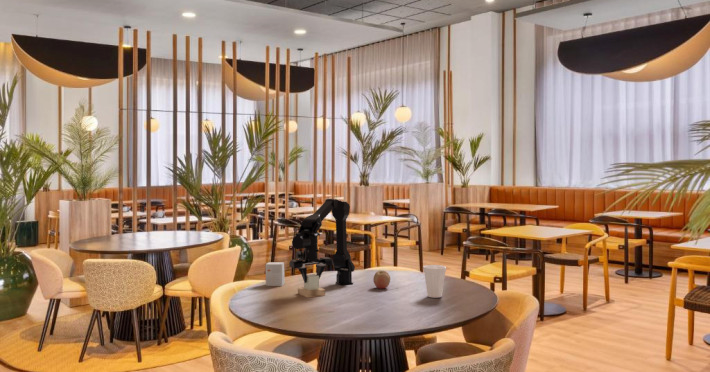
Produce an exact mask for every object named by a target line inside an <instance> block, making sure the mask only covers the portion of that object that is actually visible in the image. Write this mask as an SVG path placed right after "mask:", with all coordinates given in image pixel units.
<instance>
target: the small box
mask: <svg viewBox="0 0 710 372" xmlns="http://www.w3.org/2000/svg"><path fill="white" fill-rule="evenodd" d="M284 285H285V262H283V261H282V262H280V261H277V262H276V261H275V262H273V261H272V262H270V261H269V262H266V264H265V286H266V287H283V286H284Z"/></svg>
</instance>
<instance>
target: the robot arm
mask: <svg viewBox="0 0 710 372" xmlns="http://www.w3.org/2000/svg"><path fill="white" fill-rule="evenodd" d="M350 208H351V206H350V204H349V202H348V201H341V200H338V199H335V198H327V199H325V200H324V202H323V203H322V204H321V206H320V207H319V208H318V209H317V210H316V211H315V212H314V213H312V214H310V215H307V216H306V217H305V218H303V219H302V221H301V224H300V226H299V229H298V232H297V233H295V236H294V237H293V239H292V240H291V244H292V247H293V248H294V249H295V250H296V251H295V259H290V261H289V264H288V265H289V267H290V268H292V269H297V270H299V272H300V274H301V277H302V280H303V284H304V283H306V280H307V275H308V270H307V269H308V268H307V267H306V266H311V265H312V266H313V265H315V268H316V273H315V274H316V275H318V276H319V280H320V279H321V277H322V274H323V272H324V270H325V269H326V268H327V267H328V266H333V269H334V272H335V271H336V272H337V273H336V274H335V275H336V281H335V284H338V285H340V286H344V285H345V286H346V285H347V286H348V285H353V284H354V282H352V281H353V280H352V279H353V278H352V277H353V275H352V274H353V273H352V272H355V268H356V266H355V264H354V263H353V261H352V256H351V254H350V253H349V251H348V242H347V241H348V240H347V238H348V236H347V234H348V233H347V219H348V217H349V216H350V210H351V209H350ZM329 214H332V217H333V218H334V220H335V239H336V240H335V241H336V245H335V246H336V251H335V253H334V254H332V258H331V257H329V256H324V257H320V258H319V252H320V249H319V248H318V247H319V246H318V245H319V244H318V243H319V242H318V239H319V238H318V237H320V236H321V233H320V232H319V231H320V229H321V228H322V225H323V223H322V222H323V221H324V219H325V218H326V217H328V216H329ZM302 249H303V251H301V250H302ZM297 250H298V251H297Z"/></svg>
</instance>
